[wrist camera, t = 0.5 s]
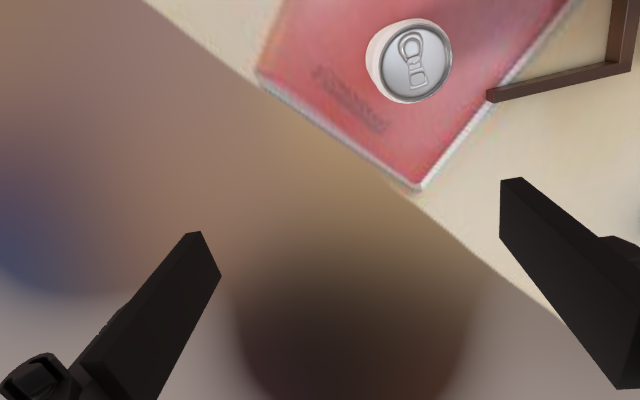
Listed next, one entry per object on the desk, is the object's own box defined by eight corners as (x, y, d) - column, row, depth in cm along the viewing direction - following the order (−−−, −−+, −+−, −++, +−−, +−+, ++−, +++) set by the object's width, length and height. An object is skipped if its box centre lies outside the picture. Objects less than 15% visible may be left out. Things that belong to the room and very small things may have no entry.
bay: (482, -51, 30) (491, -56, 28) (640, -101, 28) (660, -110, 26) (486, 100, 36) (493, 103, 34) (615, 69, 34) (630, 71, 32)
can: (417, 13, 33) (451, 1, 22) (429, 75, 35) (465, 91, 25) (357, 37, 34) (362, 36, 24) (373, 95, 37) (384, 118, 26)
